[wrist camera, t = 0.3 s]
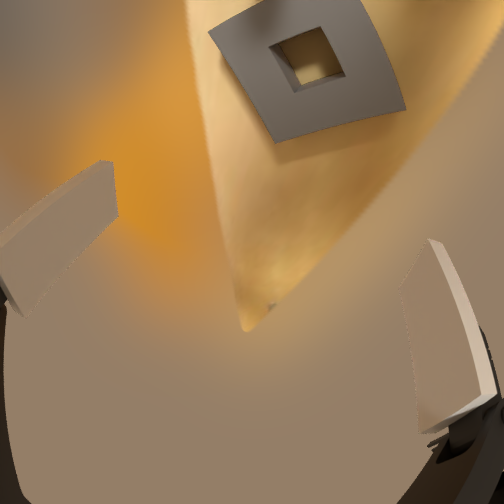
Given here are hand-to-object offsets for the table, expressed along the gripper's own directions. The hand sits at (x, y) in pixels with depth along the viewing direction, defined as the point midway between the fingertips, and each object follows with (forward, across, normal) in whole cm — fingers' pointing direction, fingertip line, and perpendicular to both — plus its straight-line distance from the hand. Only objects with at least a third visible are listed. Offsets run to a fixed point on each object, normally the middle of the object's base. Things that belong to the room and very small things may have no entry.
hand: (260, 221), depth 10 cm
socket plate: (+25, 0, +8) cm, 26 cm away
